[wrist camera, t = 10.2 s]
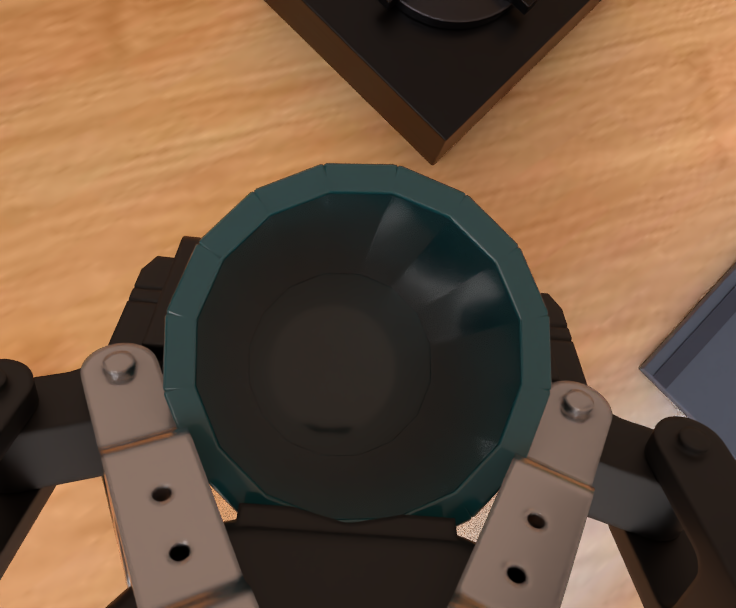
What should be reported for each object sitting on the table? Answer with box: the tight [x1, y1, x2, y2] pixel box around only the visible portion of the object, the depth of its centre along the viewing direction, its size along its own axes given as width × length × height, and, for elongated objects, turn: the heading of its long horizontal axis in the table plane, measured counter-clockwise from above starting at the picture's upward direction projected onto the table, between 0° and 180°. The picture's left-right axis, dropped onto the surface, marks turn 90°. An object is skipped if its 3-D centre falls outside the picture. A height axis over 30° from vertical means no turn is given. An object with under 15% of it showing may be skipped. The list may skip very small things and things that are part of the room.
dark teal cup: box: [163, 163, 552, 527], centre depth 15 cm, size 6×6×9 cm
